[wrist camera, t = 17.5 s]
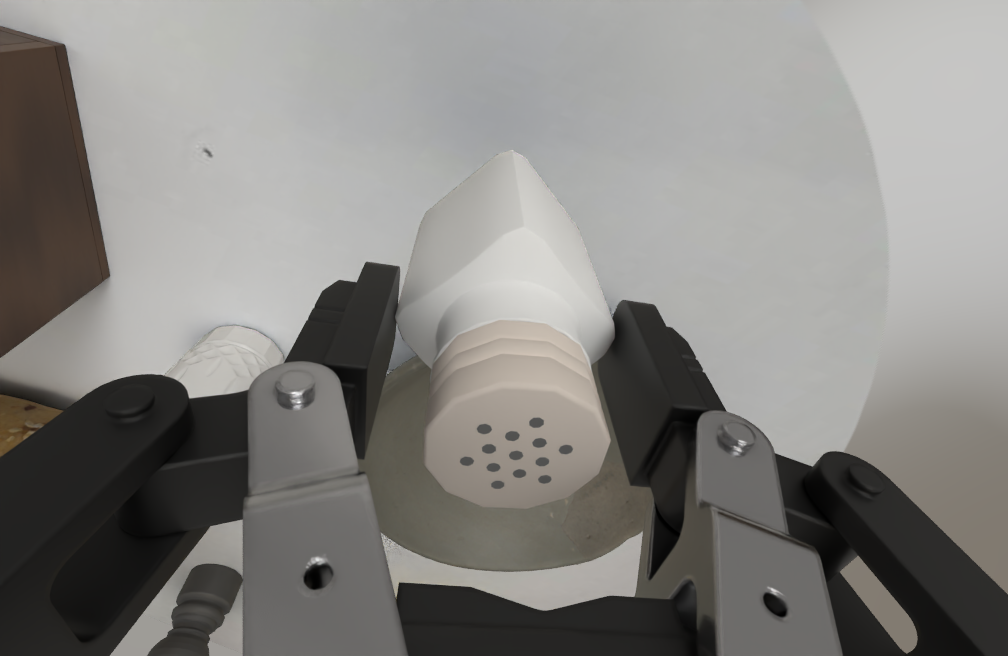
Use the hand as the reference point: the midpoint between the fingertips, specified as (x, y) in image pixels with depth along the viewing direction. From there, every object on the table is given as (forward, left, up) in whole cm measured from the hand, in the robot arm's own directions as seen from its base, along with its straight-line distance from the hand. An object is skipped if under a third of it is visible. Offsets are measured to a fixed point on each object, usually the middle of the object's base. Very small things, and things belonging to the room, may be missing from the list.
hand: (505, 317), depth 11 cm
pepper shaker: (0, 0, -6) cm, 6 cm away
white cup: (+23, -17, -23) cm, 37 cm away
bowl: (+25, +7, -23) cm, 34 cm away
